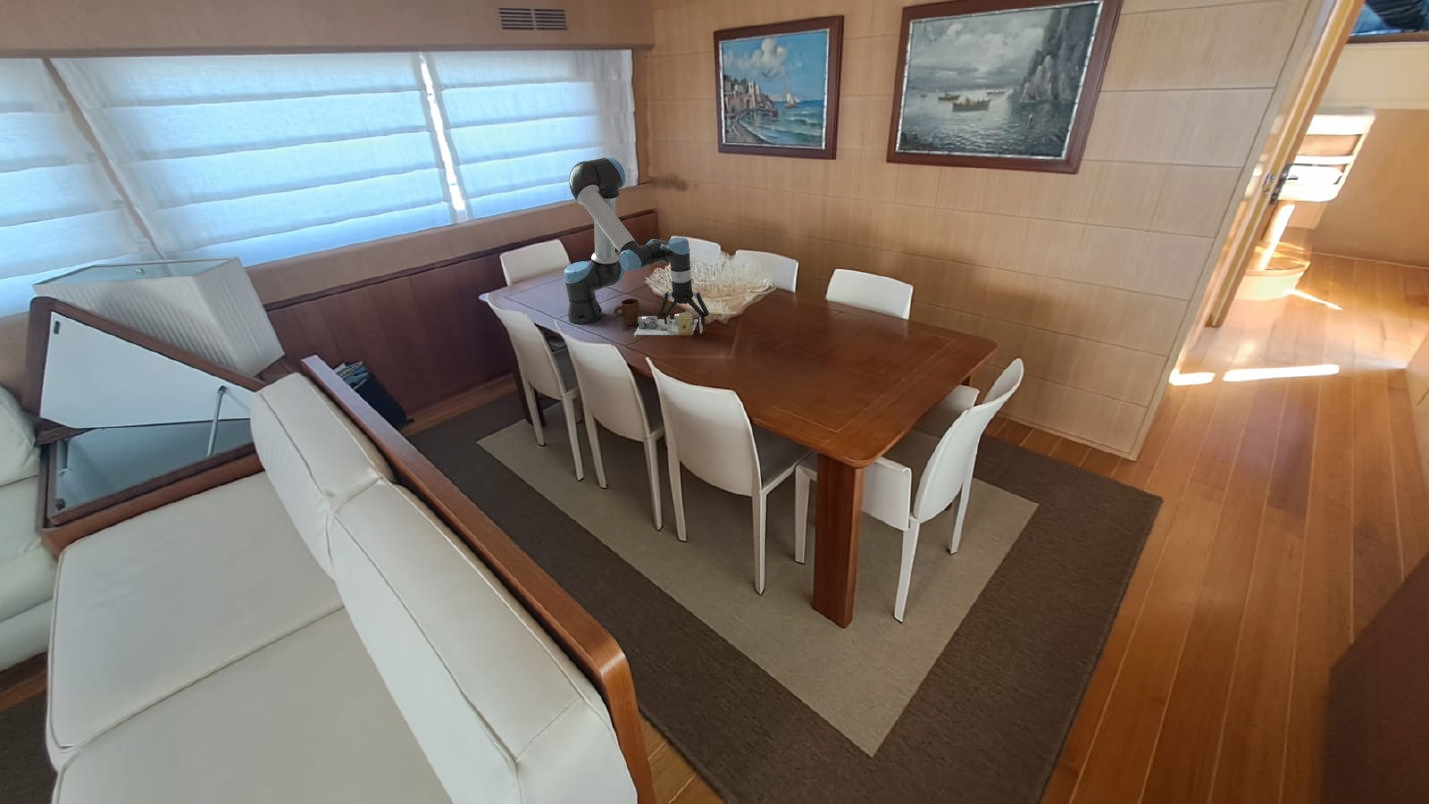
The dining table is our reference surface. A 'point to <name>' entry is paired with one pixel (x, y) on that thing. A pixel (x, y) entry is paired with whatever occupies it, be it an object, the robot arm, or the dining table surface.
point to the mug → (629, 311)
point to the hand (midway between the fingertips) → (685, 332)
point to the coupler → (685, 324)
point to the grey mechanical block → (647, 322)
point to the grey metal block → (683, 313)
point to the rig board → (662, 329)
